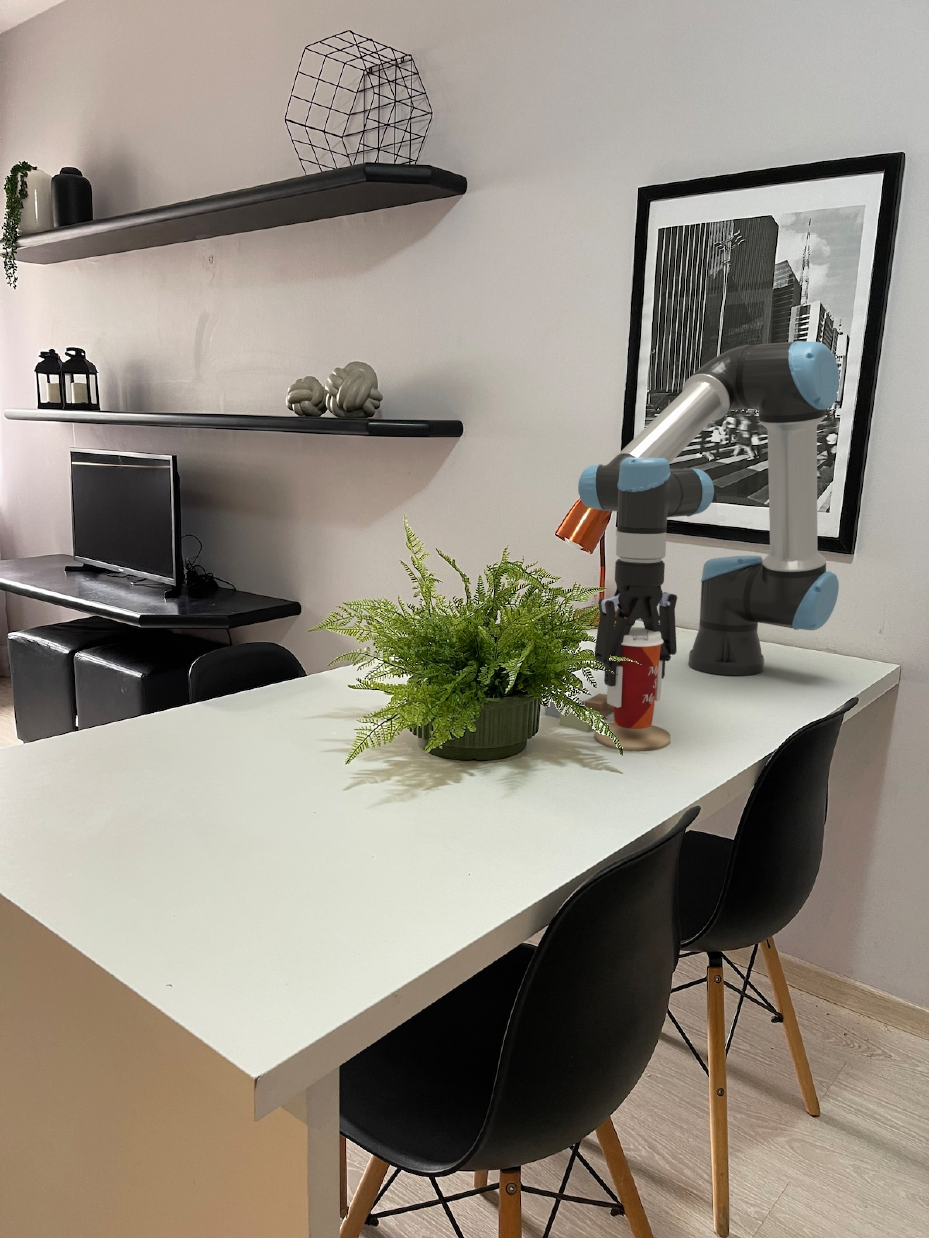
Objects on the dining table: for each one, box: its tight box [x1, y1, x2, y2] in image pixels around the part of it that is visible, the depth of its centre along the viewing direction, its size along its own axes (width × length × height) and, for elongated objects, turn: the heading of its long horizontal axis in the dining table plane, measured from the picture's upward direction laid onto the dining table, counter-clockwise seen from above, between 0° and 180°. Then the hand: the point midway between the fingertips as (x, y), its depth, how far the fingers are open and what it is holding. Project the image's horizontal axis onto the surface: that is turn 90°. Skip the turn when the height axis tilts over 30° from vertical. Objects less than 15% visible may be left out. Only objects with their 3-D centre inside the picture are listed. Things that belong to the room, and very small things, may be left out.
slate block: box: [544, 699, 585, 719], centre depth 163 cm, size 6×3×3 cm, turn 53°
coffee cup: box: [613, 626, 663, 729], centre depth 150 cm, size 8×8×15 cm
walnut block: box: [584, 692, 614, 718], centre depth 164 cm, size 6×3×3 cm, turn 147°
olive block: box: [559, 711, 600, 733], centre depth 157 cm, size 6×3×3 cm, turn 44°
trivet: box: [594, 722, 671, 752], centre depth 151 cm, size 12×12×1 cm
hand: (633, 701), depth 150 cm, fingers closed on coffee cup, 7 cm apart
